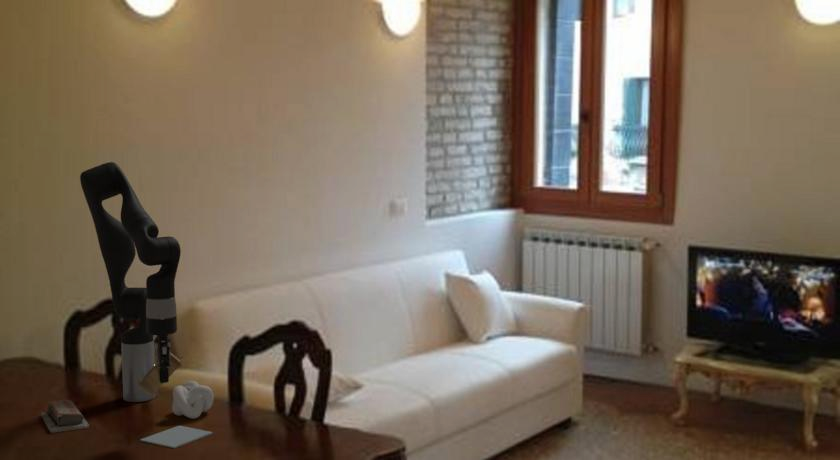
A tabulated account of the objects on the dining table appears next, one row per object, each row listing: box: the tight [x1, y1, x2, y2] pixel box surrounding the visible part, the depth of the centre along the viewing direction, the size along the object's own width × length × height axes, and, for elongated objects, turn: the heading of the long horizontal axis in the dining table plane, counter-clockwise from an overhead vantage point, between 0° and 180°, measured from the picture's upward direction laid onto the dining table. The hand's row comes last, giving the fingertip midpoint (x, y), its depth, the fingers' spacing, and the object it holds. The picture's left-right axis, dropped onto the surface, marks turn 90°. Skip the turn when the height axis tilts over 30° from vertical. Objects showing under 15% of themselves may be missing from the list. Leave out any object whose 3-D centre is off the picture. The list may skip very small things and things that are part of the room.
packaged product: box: [40, 399, 90, 434], centre depth 278 cm, size 18×5×10 cm
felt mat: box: [139, 425, 214, 449], centre depth 263 cm, size 14×12×1 cm
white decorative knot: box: [171, 380, 215, 420], centre depth 284 cm, size 11×12×9 cm
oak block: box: [138, 351, 182, 396], centre depth 261 cm, size 4×4×11 cm
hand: (163, 380), depth 261 cm, fingers closed on oak block, 4 cm apart
